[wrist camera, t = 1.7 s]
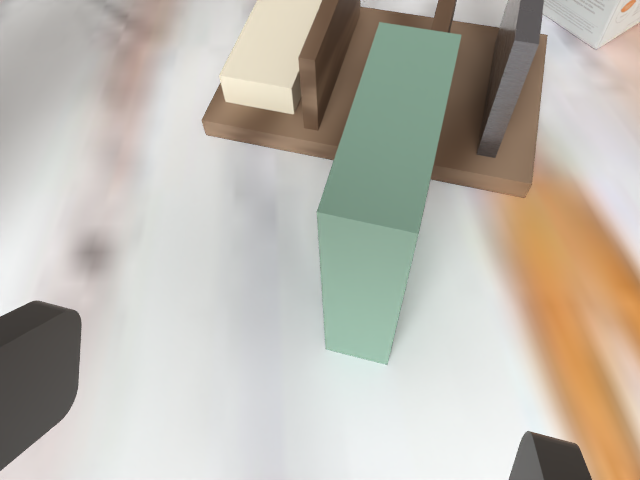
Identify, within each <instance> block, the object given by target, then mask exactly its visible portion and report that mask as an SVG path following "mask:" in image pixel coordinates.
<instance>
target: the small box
mask: <svg viewBox="0 0 640 480" xmlns="http://www.w3.org/2000/svg"><path fill="white" fill-rule="evenodd" d="M542 14H544V15H545V16H547V17H548V18H550V19H551V20H553V21H554V22H556V23H557V24H559V25H560V26H561V27H563V28H564V29H566V30H567V31H569V32H570V33H572V34H573V35H574V36H576V37H577V38H579V39H580V40H582V41H583V42H585V43H587V44H588V45H589V46H591V47H593V48H594V49H598V48H600V47H601V46H603V45H604V44H606V43H608V42H609V41H611V40H612V39H614V38H616V37H617V36H619V35H620V34H622V33H623V32H625V31H627V30H628V29H630V28H631V27H633V26H634V25H636V24H638V23H639V22H640V0H544V4H543V13H542Z"/></svg>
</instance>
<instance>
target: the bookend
mask: <svg viewBox="0 0 640 480" xmlns="http://www.w3.org/2000/svg"><path fill="white" fill-rule="evenodd" d="M543 4H544V0H508V2H507V5H506V8H505V12H504V15H503V18H502V22H501V25H500V28H499V32H498V35H497V38H496V43H495V48H494V54H493V60H492V66H491V72H490V78H489V84H488V89H487V95H486V101H485V107H484V113H483V119H482V125H481V130H480V136H479V142H478V148H477V154H476V155H481V156H486V157H492V158H496V155H497V152H498V150H499V147H500V145H501V142H502V139H503V137H504V134H505V132H506V129H507V126H508V124H509V121H510V119H511V116H512V113H513V111H514V108H515V105H516V103H517V100H518V98H519V95H520V92H521V90H522V87H523V85H524V82H525V79H526V77H527V74H528V72H529V69H530V66H531V64H532V61H533V58H534V56H535V53H536V51H537V48H538V45H539V39H540V30H541V22H542V13H543Z"/></svg>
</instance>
